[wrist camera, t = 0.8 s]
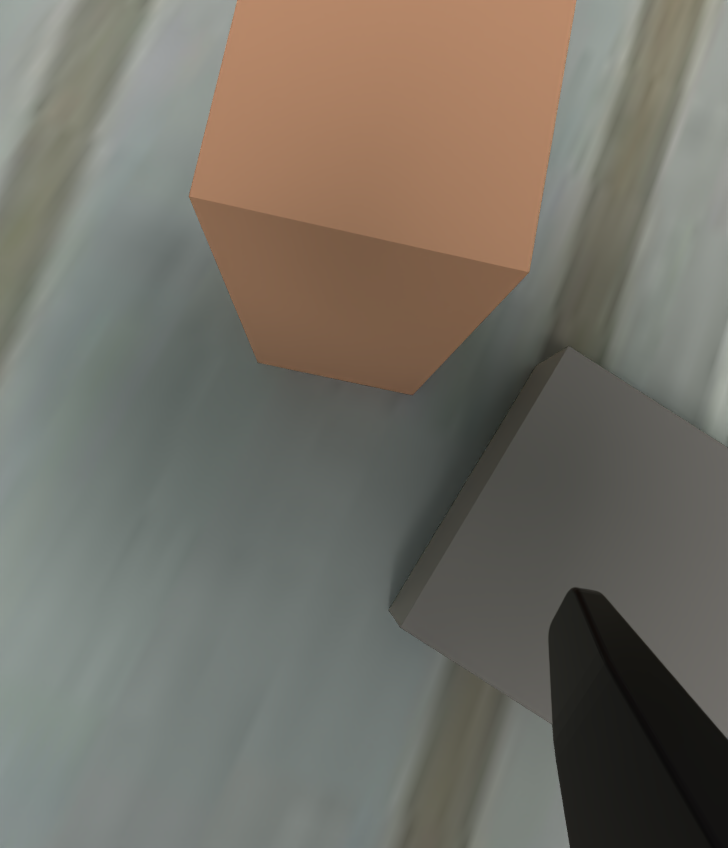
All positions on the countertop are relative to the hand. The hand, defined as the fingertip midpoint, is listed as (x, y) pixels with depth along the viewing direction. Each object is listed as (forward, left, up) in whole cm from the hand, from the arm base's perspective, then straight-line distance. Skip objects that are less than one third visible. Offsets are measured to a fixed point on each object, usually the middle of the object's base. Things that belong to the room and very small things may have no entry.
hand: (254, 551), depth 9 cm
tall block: (+7, +3, -13) cm, 15 cm away
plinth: (+5, -9, -13) cm, 17 cm away
